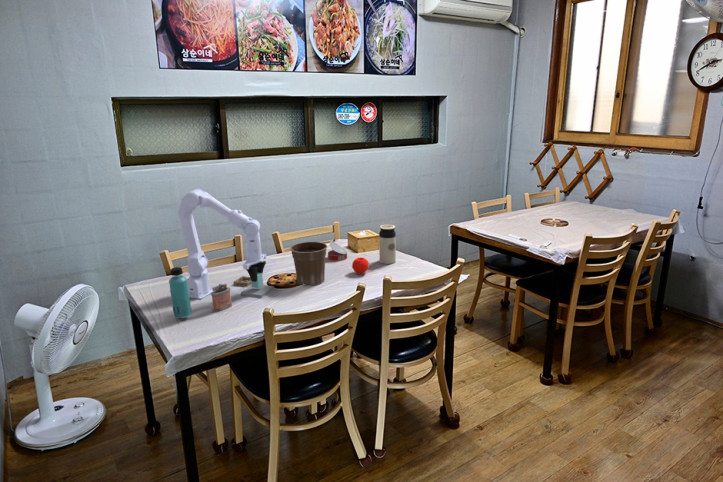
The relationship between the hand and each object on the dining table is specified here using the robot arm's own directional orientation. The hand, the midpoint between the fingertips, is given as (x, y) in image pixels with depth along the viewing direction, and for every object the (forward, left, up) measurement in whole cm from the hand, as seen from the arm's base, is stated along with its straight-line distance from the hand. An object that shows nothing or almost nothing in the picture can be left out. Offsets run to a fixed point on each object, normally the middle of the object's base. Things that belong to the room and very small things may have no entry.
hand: (256, 279), depth 202 cm
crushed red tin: (-19, +4, -6) cm, 20 cm away
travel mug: (+53, -41, -6) cm, 67 cm away
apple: (+34, -34, -6) cm, 48 cm away
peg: (0, 0, -3) cm, 3 cm away
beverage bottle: (-31, +13, -6) cm, 34 cm away
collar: (+7, +11, -5) cm, 14 cm away
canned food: (+51, -15, -6) cm, 53 cm away
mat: (0, 0, -5) cm, 5 cm away
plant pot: (+18, -16, -6) cm, 25 cm away
